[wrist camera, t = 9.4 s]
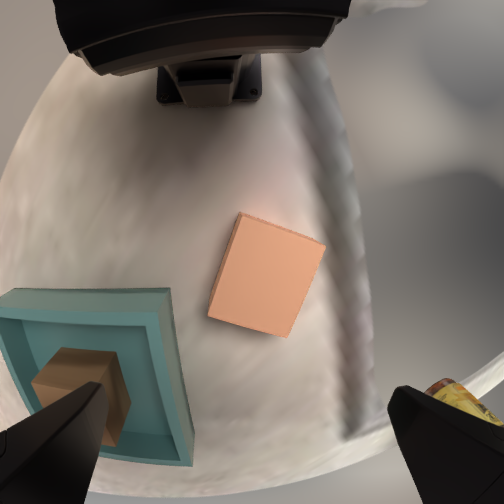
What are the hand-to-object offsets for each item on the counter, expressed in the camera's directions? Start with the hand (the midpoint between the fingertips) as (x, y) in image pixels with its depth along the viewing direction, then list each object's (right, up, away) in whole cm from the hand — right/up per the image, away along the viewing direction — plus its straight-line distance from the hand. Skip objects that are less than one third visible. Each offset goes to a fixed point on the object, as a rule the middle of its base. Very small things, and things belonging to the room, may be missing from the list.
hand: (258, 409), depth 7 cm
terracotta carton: (0, +3, +12) cm, 12 cm away
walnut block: (-12, -5, +11) cm, 17 cm away
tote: (-12, -5, +12) cm, 18 cm away
